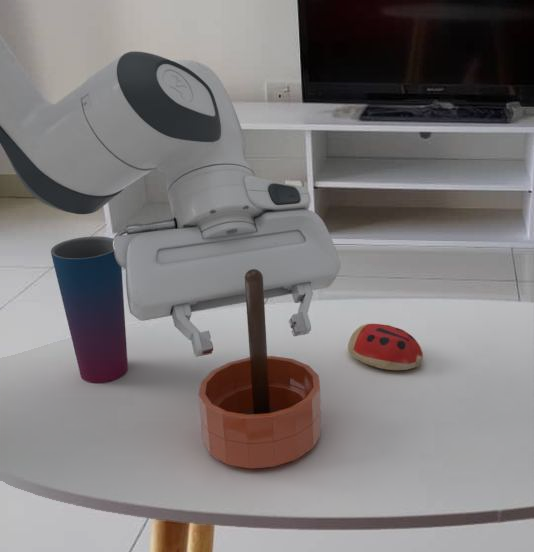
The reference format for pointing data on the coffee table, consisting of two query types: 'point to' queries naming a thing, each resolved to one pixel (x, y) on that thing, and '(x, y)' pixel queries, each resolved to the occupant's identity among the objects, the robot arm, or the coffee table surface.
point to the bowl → (260, 427)
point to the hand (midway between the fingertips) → (255, 343)
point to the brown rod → (257, 343)
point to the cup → (93, 305)
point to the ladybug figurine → (385, 347)
